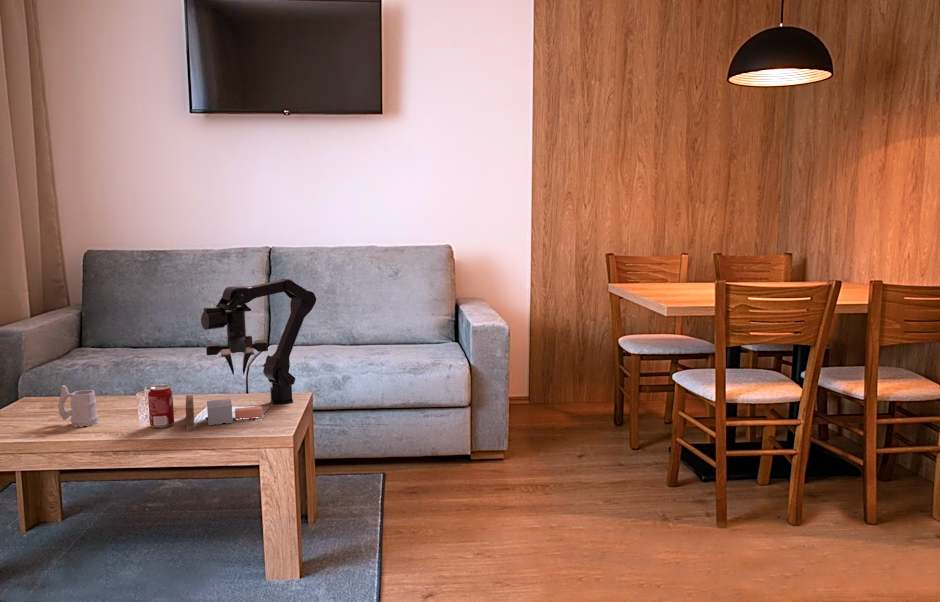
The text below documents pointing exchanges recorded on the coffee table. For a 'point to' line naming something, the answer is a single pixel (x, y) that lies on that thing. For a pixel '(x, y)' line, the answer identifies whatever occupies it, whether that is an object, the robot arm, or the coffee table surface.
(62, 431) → the coffee table surface
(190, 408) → the wall
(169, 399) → the soda can
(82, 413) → the mug
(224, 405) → the block
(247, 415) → the orange white rectangular bar
